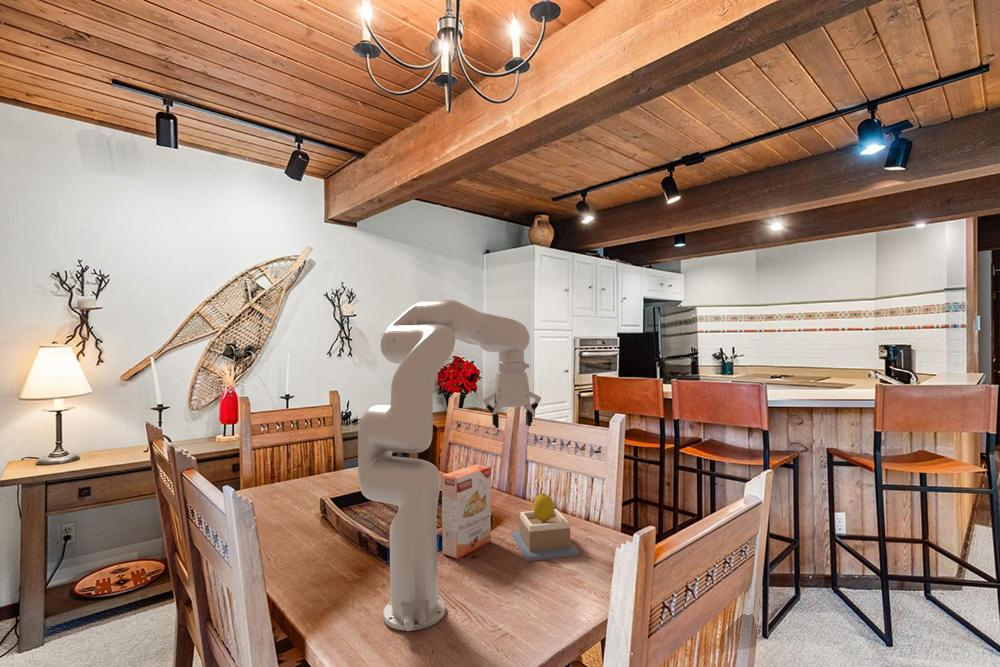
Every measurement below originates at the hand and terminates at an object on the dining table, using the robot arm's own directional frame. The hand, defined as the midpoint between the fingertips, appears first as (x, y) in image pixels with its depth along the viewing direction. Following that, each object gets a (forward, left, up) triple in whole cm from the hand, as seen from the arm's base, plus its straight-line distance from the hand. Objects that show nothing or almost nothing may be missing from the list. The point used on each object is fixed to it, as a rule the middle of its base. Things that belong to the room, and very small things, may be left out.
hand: (512, 426), depth 145 cm
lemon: (-12, -5, -24) cm, 28 cm away
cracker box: (-9, +15, -31) cm, 35 cm away
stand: (-12, -5, -30) cm, 33 cm away
